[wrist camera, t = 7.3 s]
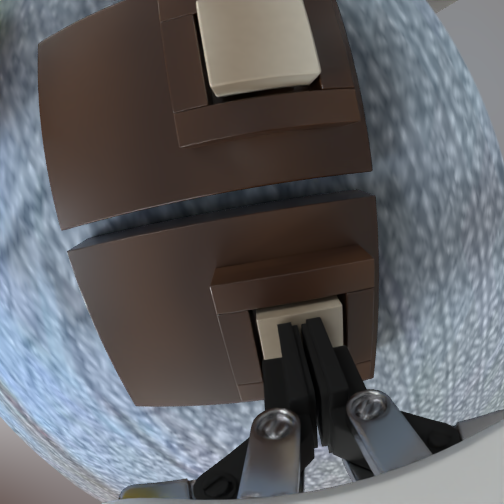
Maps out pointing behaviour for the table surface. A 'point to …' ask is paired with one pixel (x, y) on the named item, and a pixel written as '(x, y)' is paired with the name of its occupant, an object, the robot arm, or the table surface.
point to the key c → (256, 45)
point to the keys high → (227, 292)
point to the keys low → (184, 114)
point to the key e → (299, 321)
